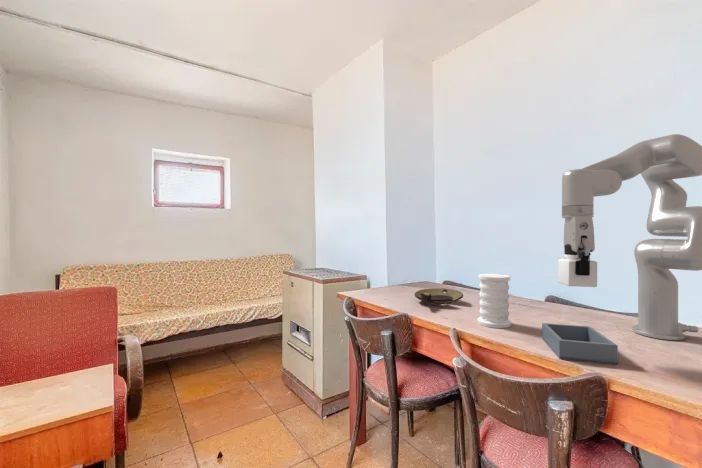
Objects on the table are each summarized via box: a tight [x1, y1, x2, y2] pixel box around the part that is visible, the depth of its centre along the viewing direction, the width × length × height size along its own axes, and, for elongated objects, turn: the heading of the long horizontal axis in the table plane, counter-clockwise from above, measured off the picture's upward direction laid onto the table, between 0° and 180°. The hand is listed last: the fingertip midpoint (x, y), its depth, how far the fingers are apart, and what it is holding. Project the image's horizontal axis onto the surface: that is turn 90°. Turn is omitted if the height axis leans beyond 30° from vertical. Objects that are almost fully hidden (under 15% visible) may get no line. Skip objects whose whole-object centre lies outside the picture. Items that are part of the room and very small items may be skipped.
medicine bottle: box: [557, 244, 598, 288], centre depth 92 cm, size 7×7×12 cm
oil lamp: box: [414, 287, 464, 306], centre depth 152 cm, size 22×30×8 cm
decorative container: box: [476, 273, 512, 329], centre depth 118 cm, size 12×12×18 cm
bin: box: [541, 322, 619, 366], centre depth 91 cm, size 13×17×5 cm
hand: (576, 273), depth 92 cm, fingers closed on medicine bottle, 7 cm apart
